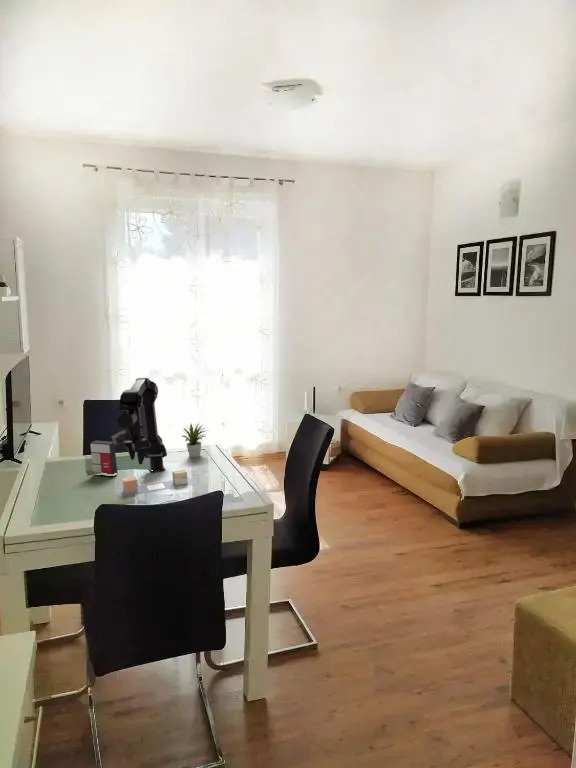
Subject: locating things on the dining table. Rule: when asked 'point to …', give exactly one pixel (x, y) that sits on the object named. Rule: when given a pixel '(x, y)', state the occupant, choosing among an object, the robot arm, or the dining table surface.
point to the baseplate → (154, 487)
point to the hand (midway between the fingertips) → (136, 461)
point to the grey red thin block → (103, 456)
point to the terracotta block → (130, 485)
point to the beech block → (179, 476)
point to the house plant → (194, 441)
